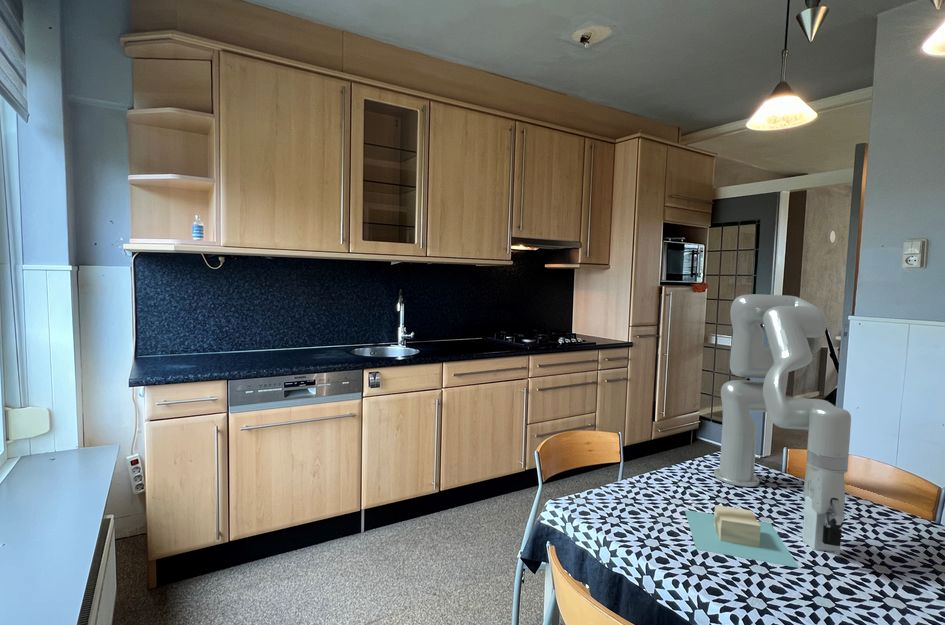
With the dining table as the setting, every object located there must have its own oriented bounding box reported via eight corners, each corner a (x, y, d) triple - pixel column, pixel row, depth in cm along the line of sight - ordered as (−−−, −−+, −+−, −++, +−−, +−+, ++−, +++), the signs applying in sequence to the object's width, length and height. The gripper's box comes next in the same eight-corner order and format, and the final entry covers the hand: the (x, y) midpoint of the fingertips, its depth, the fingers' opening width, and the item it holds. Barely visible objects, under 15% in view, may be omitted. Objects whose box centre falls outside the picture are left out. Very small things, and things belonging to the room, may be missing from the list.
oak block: (713, 524, 117) (715, 505, 117) (750, 530, 115) (751, 510, 114) (720, 540, 109) (721, 519, 109) (759, 547, 107) (760, 526, 107)
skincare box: (826, 545, 111) (830, 495, 110) (841, 556, 106) (845, 504, 106) (800, 545, 111) (803, 494, 110) (813, 555, 106) (817, 503, 106)
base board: (684, 514, 125) (684, 509, 124) (770, 527, 119) (770, 523, 118) (695, 554, 105) (696, 549, 105) (799, 573, 100) (799, 567, 99)
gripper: (794, 447, 117) (790, 514, 118) (823, 472, 100) (818, 550, 101) (830, 451, 114) (825, 519, 115) (865, 477, 98) (859, 557, 99)
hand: (822, 533), depth 108 cm, fingers open, 9 cm apart
